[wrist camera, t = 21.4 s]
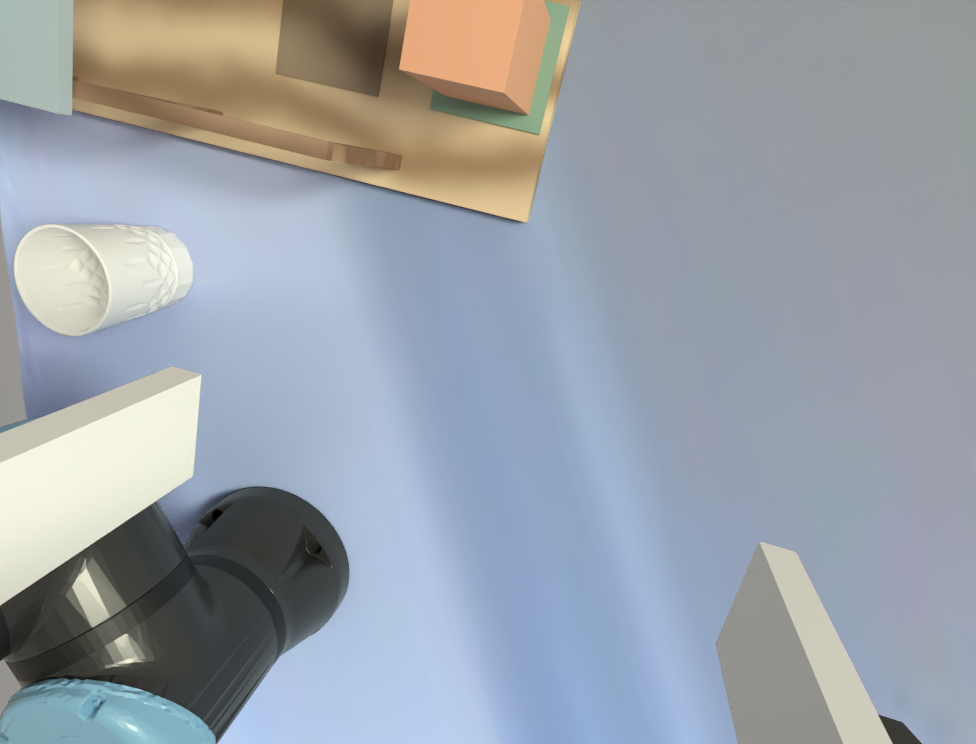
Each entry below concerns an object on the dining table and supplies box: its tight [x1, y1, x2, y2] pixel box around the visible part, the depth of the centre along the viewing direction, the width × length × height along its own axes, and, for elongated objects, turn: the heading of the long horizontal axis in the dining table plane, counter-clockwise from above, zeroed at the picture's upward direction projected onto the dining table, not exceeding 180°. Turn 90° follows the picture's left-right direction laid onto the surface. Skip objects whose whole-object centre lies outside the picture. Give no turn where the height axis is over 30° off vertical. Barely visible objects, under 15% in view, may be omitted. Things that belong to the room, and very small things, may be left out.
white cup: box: [14, 224, 193, 336], centre depth 48 cm, size 8×8×10 cm
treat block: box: [399, 0, 551, 115], centre depth 37 cm, size 6×6×10 cm
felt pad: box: [430, 1, 570, 135], centre depth 42 cm, size 8×8×1 cm
